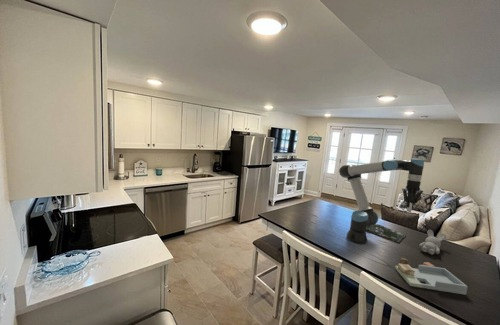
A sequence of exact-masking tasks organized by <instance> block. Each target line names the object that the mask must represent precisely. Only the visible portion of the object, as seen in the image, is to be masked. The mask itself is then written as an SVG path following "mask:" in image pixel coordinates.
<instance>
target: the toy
mask: <svg viewBox="0 0 500 325" xmlns="http://www.w3.org/2000/svg"><path fill="white" fill-rule="evenodd" d="M426 233H427V237H426V238H425V241H423V242H421V243H419V245H418V247H419V248H421V250H422V252H424V253H428V254H430V255H431V256H432V255H435V254H437V255H439V254H440V253H441V252H440V251H441V250H440V247H441V246H442V243H441V242H442V241H444V240H446V237H447V235H446V233H441V234H440V235H439V236H438V237H436V236H434V231H433V230H432V229H428V230H427V232H426Z"/></svg>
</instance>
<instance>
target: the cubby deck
mask: <svg viewBox="0 0 500 325" xmlns="http://www.w3.org/2000/svg"><path fill="white" fill-rule="evenodd" d="M417 266H418V267H417V268H413V267H412V268H413V269H414V270H415V272H414V275H408V274H403V273H402V272H401V271H400V270H399V269H398V265H395V267H394V268H395V270H396V271H397V272H398V273H399V275H400V276H401V277H402V278H403V279H404V281H405V282H406V283H407V284H408V285H409V286H410V287H415V288H421V289H428V290H434V291H439V292H447V293H452V294H458V295H459V294H460V295H464V296H466V295H467V292H468V287H469V286H467V284H465V283H464V282H463V281H462V280H461V279H459V278H458V277H457V276H456V275H455V274H453V273H452V272H450V271H449V270H448V269H446V268H445V267H438V266H434V267H432V266H425V265H423V264H417Z"/></svg>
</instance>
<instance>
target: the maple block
mask: <svg viewBox="0 0 500 325" xmlns="http://www.w3.org/2000/svg"><path fill="white" fill-rule="evenodd" d="M397 266H398V269H399V270H400V271H401V272H402V273H403V274H408V275H414V272H415V270H414V269H413V267H411V266H410V264H408V265H407V264H400V262H399V263H397Z"/></svg>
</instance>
